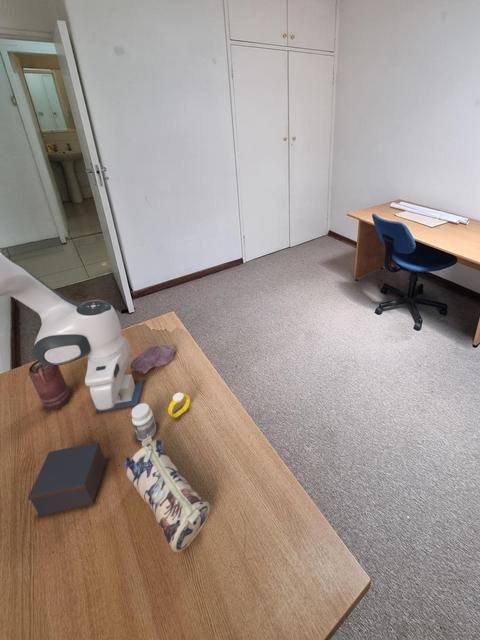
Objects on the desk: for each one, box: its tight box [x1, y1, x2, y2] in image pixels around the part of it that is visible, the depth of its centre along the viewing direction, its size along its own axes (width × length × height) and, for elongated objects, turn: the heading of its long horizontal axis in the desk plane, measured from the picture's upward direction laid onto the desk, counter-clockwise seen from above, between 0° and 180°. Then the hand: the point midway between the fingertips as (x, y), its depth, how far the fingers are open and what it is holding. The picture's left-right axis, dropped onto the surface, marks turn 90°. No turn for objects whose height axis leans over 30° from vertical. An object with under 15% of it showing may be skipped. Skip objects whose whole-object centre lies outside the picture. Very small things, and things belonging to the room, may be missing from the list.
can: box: [28, 360, 71, 411], centre depth 89 cm, size 6×6×14 cm
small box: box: [118, 373, 135, 403], centre depth 92 cm, size 6×5×5 cm
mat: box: [97, 381, 144, 413], centre depth 93 cm, size 10×8×1 cm
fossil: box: [130, 344, 176, 375], centre depth 103 cm, size 8×14×5 cm, turn 141°
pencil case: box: [123, 435, 211, 553], centre depth 67 cm, size 22×8×10 cm, turn 49°
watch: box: [167, 392, 191, 419], centre depth 88 cm, size 6×3×6 cm, turn 144°
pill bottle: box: [131, 402, 157, 442], centre depth 82 cm, size 5×5×8 cm
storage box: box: [27, 441, 107, 517], centre depth 71 cm, size 10×9×7 cm
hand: (120, 391), depth 92 cm, fingers closed on small box, 5 cm apart
